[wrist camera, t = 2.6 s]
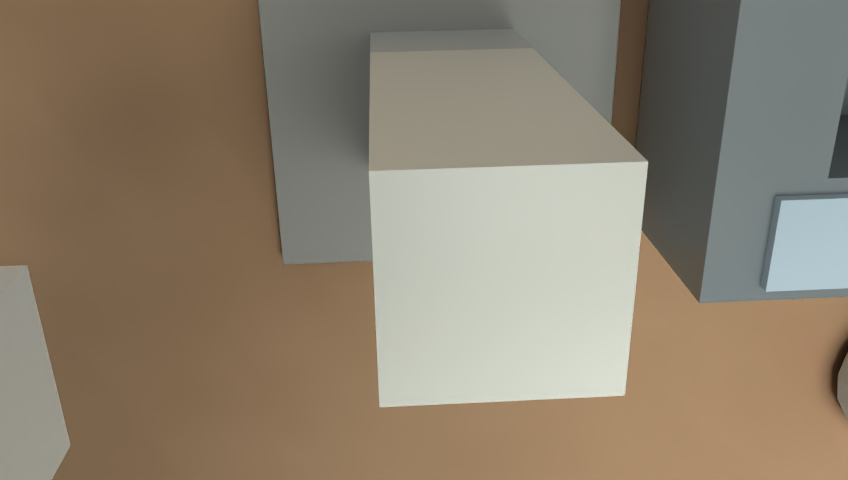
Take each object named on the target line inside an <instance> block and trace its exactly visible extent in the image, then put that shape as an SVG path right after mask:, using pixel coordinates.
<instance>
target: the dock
mask: <svg viewBox="0 0 848 480" xmlns="http://www.w3.org/2000/svg"><path fill="white" fill-rule="evenodd" d="M635 149H636V150H637V151H638V152H639V153H640V154H641V155H642V156H643V157H644V158H645V159H646V160H647V161H648V169H647V179H646V189H645V199H644V209H643V219H642V229H641V230H642V231H643V232H644V234H645V235H646V236H647V237H648V239H649V240H650V241H651V242H652V244H653V245H654V246H655V248H656V249H657V250H658V251H659V253H660V254H661V255H662V256H663V258H664V259H665V260H666V261H667V263H668V264H669V265H670V266H671V268H672V269H673V270H674V271H675V273H676V274H677V275H678V277H679V278H680V279H681V280H682V282H683V283H684V284H685V285H686V287H687V288H688V289H689V290H690V292H691V293H692V294H693V295H694V297H695V298H696V299H697V301H698V302H699V303H710V302H733V301H756V300H779V299H803V298H826V297H848V0H649V8H648V19H647V30H646V40H645V51H644V62H643V72H642V83H641V94H640V105H639V115H638V126H637V137H636V147H635Z"/></svg>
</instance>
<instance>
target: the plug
mask: <svg viewBox="0 0 848 480" xmlns="http://www.w3.org/2000/svg"><path fill="white" fill-rule="evenodd" d="M647 169H648V161H647V160H646V159H645V158H644V157H643V156H642V155H641V154H640V153H639V152H638V151H637V150H636V149H635V148H634V147H633V146H632V145H631V144H630V143H629V142H628V141H627V140H626V139H625V138H624V137H623V136H622V135H621V134H620V133H619V132H618V131H617V130H616V129H615V128H614V127H613V126H612V125H611V124H610V123H609V122H608V121H607V120H606V119H605V118H604V117H603V116H602V115H601V114H599V113H598V112H597V111H596V110H595V109H594V108H593V107H592V106H591V105H590V104H589V103H588V102H587V101H586V100H585V99H584V98H583V97H582V96H581V95H580V94H579V93H578V92H577V91H576V90H575V89H574V88H573V87H572V86H571V85H570V84H569V83H568V82H567V81H566V80H565V79H564V78H563V77H562V76H561V75H560V74H559V73H558V72H557V71H556V70H555V69H554V68H553V67H552V66H551V65H550V64H549V63H548V62H547V61H546V60H545V59H544V58H543V57H542V56H541V55H540V54H539V53H538V52H537V51H536V50H534V49H533V48H532V47H531V46H530V45H529V44H528V43H527V42H526V41H525V40H524V39H523V38H522V37H521V36H520V35H519V34H518V33H517V32H516V31H515V30H514V29H481V30H442V31H404V32H370V105H369V187H370V209H371V231H372V253H373V274H374V296H375V318H376V340H377V362H378V383H379V405H380V407H397V406H418V405H439V404H459V403H480V402H501V401H521V400H542V399H563V398H583V397H604V396H625V388H626V378H627V368H628V358H629V348H630V338H631V328H632V318H633V308H634V299H635V289H636V279H637V269H638V259H639V249H640V239H641V229H642V219H643V209H644V199H645V189H646V179H647Z"/></svg>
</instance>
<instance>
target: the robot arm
mask: <svg viewBox="0 0 848 480" xmlns="http://www.w3.org/2000/svg"><path fill="white" fill-rule="evenodd" d="M70 446H71V445H70V441H69V437H68V433H67V428H66V424H65V420H64V416H63V412H62V408H61V404H60V399H59V395H58V391H57V387H56V383H55V379H54V375H53V370H52V366H51V362H50V358H49V354H48V350H47V346H46V341H45V337H44V333H43V329H42V325H41V321H40V317H39V313H38V308H37V304H36V300H35V296H34V292H33V288H32V284H31V279H30V275H29V271H28V267H27V265H17V266H0V480H52V479H53V477H54V475H55V473H56V471H57V470H58V468H59V466H60V464H61V462H62V460H63V459H64V457H65V455H66V453H67V451H68V450H69V448H70Z"/></svg>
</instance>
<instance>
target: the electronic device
mask: <svg viewBox="0 0 848 480" xmlns="http://www.w3.org/2000/svg"><path fill="white" fill-rule="evenodd" d="M837 399H838V401H839V403H840V405H841V408H842V410H843V412H844V414H845V416H846V417H847V418H848V352H847V355H846V357H845V359H844V361H843V364H842V366H841V368H840V371H839V373H838V393H837Z"/></svg>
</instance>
